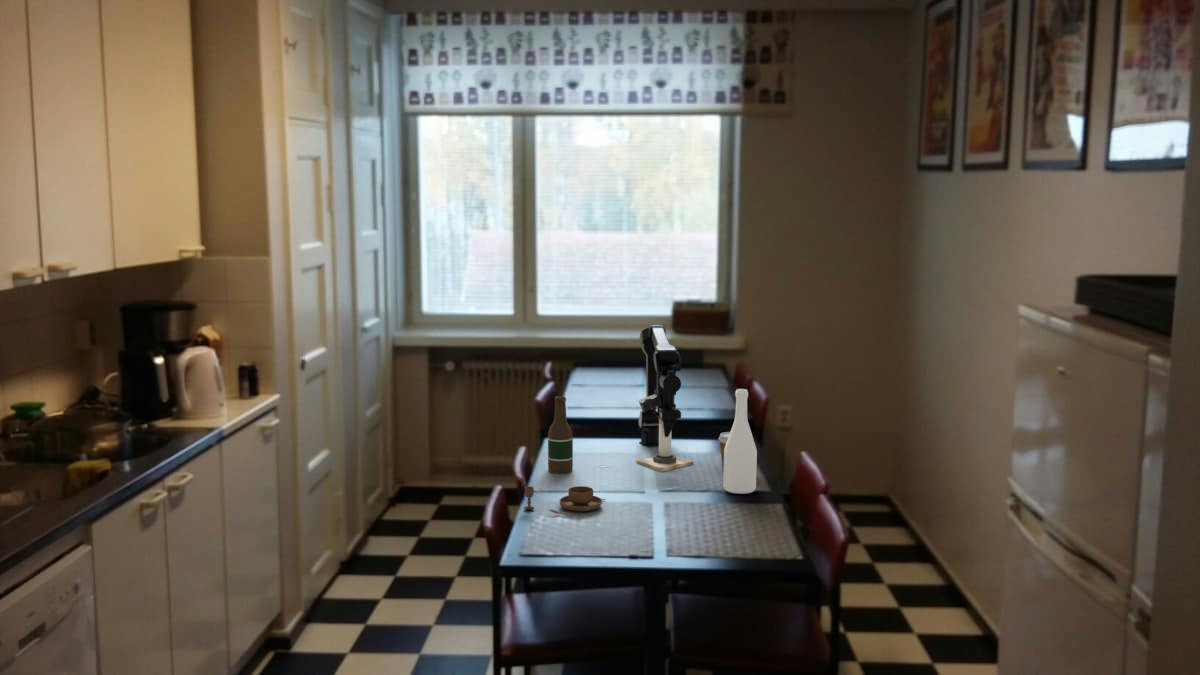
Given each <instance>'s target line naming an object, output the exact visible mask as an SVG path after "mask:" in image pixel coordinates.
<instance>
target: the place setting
mask: <svg viewBox="0 0 1200 675" xmlns="http://www.w3.org/2000/svg"><path fill="white" fill-rule="evenodd" d="M534 491H535V490H534V486H525V487H524V496H525V497H526V499H527V501H526V502H527V506H524V507H523V509H524V510H528V511H532V510H535V507H534V506H532V501H531V499H532V498H533V496H534ZM567 492H568V495H566V496H563V497H561V498H560V499H559V505H560V506H561V507H562V508H564V509H565V510H568V511H572V512H590V511H594V510H596V509H598V508H600V507H601V505H602V504H603V501H607V499H606V498H601V497H599V496H596V495H594V489H593V487H590V486H583V485H580V486H572V487H569V489H568V491H567ZM549 511H550V512H552V513H554V514H566V515H571V516H572V515H573V516H580V517H583V514H577V513H571V512H565V511H557V510H554V509H551V508H550V509H549Z"/></svg>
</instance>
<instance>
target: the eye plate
mask: <svg viewBox="0 0 1200 675" xmlns="http://www.w3.org/2000/svg"><path fill="white" fill-rule="evenodd" d="M635 462H636V464H638V465H641V466H644V467H647V468H649V469H651V470H654V471H657V472H666V471H669V470H674V469H679V467H680V468H683V466H684V467H688V466H692V465H694V460H690V459H687V458H682V457H679V456H677V455H675V454H672V453H671V456H669V457H662V456H659V453H657V454H653V457H648V458H641V459H636V461H635Z"/></svg>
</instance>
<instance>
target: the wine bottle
mask: <svg viewBox="0 0 1200 675" xmlns="http://www.w3.org/2000/svg"><path fill="white" fill-rule="evenodd" d="M734 396H735V413H734V414H735V416H734V421H733V424H732V427H731V430H730V431H729V432H730V435H729V437H728V440H727V443H726V446H725V449H724V472H723V479H722V480H723V483H722V484H723V489H724V490H725V491H726V492H728V493H732V494H739V495H740V494H742V495H743V494H744V495H745V494H751V493H753V492H755V490H756V488H757V464H758V463H757V461H758V460H757V458H758V450H757V447H756V443H755V441H754V440H755V439H754V437H753V434H752V430H751V427H750V423H749V421H748V398H749V392H748V389H745V388H736V390H735V393H734Z"/></svg>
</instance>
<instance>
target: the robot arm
mask: <svg viewBox="0 0 1200 675" xmlns="http://www.w3.org/2000/svg"><path fill="white" fill-rule="evenodd" d="M639 343H640V345H641V350H642V351H643V353H644V355H645V359H646V360H645V364H646V366H645V368H646V369H645V371H646V372H645V373H646V374H645V378H646V379H645V380H646V390H645V391H646V397H644V398H641V399H639V400H638V403H639V407H640V409H641V410H640V413H639V415H638V416H639V417H638V426H639V428H641V431H640V432H641V433H640V435H641V436H640V441H639V442H638V444H640V445H644V446H647V447H657V446H659V418H660V419H661V420H662V421H663V428H664V435H665V437H668V436H669V434H670V432H671V433H672V430H673V428H674V426H675V424H676V422H677V420H678V419H679V420H680V419H682V412H681V410H680V409H679V408H677V404H676V403H675V399H676V398H675V396H677V392H678V391H679V390H680V389H681V386H682V381H681V379H680V377H678V376H677V372H681V369H682V367H683V366H682V361H681V356H680V353H679V351H677V349H676V347H675V346H674V345H672V344H670V342H669V341H668V338H667V330H666V329H665V325H662V324H653V325H652V324H651V325H648V327H647V328H645V329H642V330H641V332H640V334H639Z"/></svg>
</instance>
